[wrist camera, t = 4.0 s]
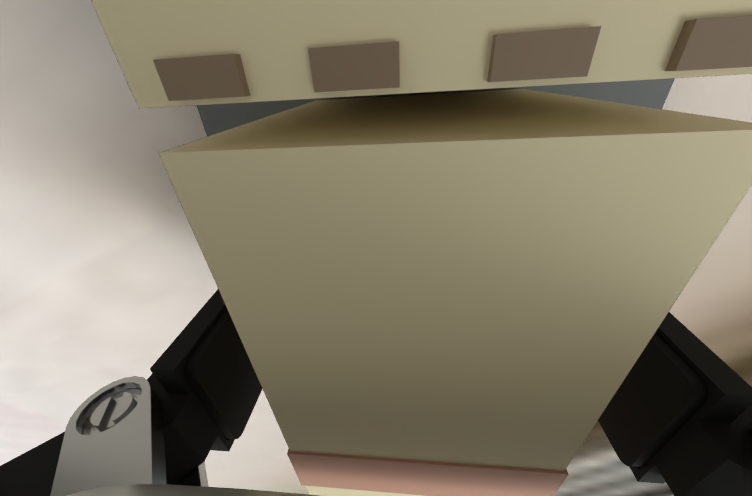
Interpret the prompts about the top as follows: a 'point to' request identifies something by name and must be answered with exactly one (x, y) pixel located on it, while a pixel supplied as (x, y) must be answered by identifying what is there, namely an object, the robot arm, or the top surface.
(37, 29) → the top surface
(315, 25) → the block
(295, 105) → the mat
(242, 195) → the stub
